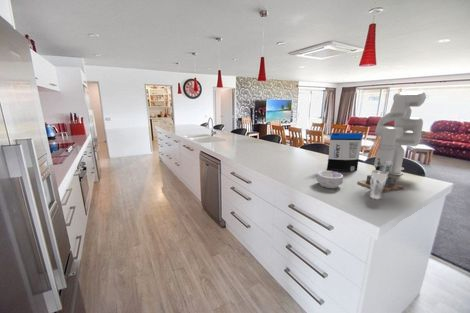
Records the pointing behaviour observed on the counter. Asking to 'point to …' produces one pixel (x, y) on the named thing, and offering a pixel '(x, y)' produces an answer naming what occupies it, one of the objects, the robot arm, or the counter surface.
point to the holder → (388, 186)
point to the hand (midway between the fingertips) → (381, 174)
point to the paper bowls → (329, 179)
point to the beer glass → (377, 184)
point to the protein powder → (344, 152)
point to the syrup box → (386, 168)
